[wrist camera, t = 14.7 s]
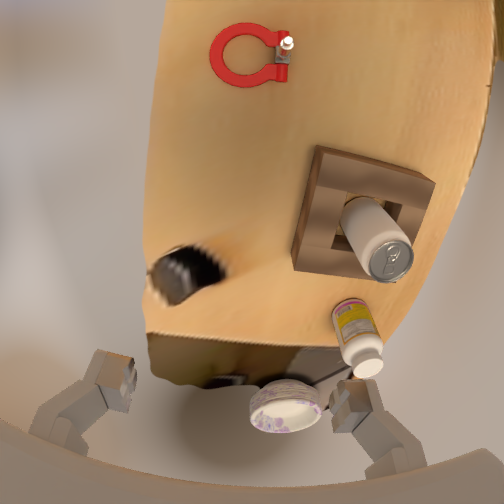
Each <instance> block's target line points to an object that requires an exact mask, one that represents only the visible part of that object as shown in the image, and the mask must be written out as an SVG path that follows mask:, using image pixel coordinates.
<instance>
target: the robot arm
mask: <svg viewBox="0 0 504 504" xmlns="http://www.w3.org/2000/svg"><path fill="white" fill-rule="evenodd" d="M134 364H135V362H134V358H132V357H128V356H123V355H119V354H115V353H111V352H108V351H103V350H99V349H97V351H96V352H95V353H94V355H93V357H92V360H91V362H90V364H89V366H88V369H87V371H86V373H85V376H84V378H83V380H78V381H77V382H75V383H74V384H72V385H71V386H69V387H68V388H66V389H65V390H63V391H62V392H60V393H59V394H57V395H56V396H54V397H53V398H51V399H50V400H48V401H47V402H45V403H44V404H42V405H41V406H40V407H39V408H38V410H37V412H36V415H35V417H34V419H33V422H32V424H31V427H30V429H29V432H25V431H24V430H22V429H20V428H18V427H16V426H14V425H12V424H10V423H8V422H6V421H4V420H2V419H1V418H0V504H504V465H503V463H502V462H501V461H500V460H499V459H498V458H497V457H496V456H495V455H493V454H492V453H491V452H490V451H488V450H487V449H484V448H481V449H478V450H475V451H472V452H470V453H467V454H464V455H462V456H459V457H456V458H453V459H450V460H447V461H444V462H440V463H437V464H434V465H430V466H427V462H426V459H425V455H424V452H423V448H422V445H421V442H420V441H419V440H418V439H417V438H416V437H415V436H414V435H413V434H411V433H410V432H409V431H408V430H407V429H406V428H405V427H404V426H403V425H402V424H401V423H400V422H399V421H398V420H397V419H396V418H395V417H394V416H393V415H391V414H390V413H389V412H388V411H385V410H384V407H383V404H382V400H381V397H380V394H379V391H378V388H377V384H376V381H375V380H373V379H372V380H371V379H369V380H362V379H358V380H340V381H339V382H338V383H337V389H335V390H333V391H332V393H331V395H330V399H329V409H330V412H331V413H332V414H333V415H334V416H333V418H332V420H331V421H332V426H333V433H349V432H352V435H353V436H354V437H355V438H356V440H357V441H358V442H359V444H360V445H361V446H362V447H363V449H364V450H365V451H366V452H367V454H368V455H369V456H370V458H371V459H372V460H373V461H374V464H372V465H371V466H370V467H368V468H367V469H366V470H365V475H366V480H361V481H355V482H348V483H339V484H329V485H318V486H301V487H247V486H231V485H219V484H209V483H201V482H193V481H185V480H180V479H173V478H168V477H162V476H158V475H152V474H148V473H144V472H139V471H134V470H131V469H127V468H123V467H119V466H116V465H112V464H109V463H105V462H102V461H99V460H96V459H93V458H89V457H87V453H88V449H89V446H88V444H87V443H86V442H85V440H84V439H83V438H82V436H81V434H82V433H83V432H85V431H86V430H87V429H88V428H89V427H90V426H91V425H93V424H94V423H95V422H96V421H97V420H98V419H99V418H100V417H101V416H103V415H104V414H105V412H107V411H108V409H111V410H115V411H119V412H123V413H128V411H129V407H130V404H131V401H132V399H131V396H130V394H131V393H132V392H133V391H135V387H136V381H137V372H136V369H135V368H134Z"/></svg>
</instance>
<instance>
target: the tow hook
mask: <svg viewBox="0 0 504 504" xmlns="http://www.w3.org/2000/svg"><path fill="white" fill-rule="evenodd" d="M240 35H253V36H256V37H258V38H260V39H261V40H262V41H263V42H264V43H265V44H266V46H268V47H276V53H275V64H266V65H265V67H264V68H263V69H262V70H260V71H259V72H257V73H255V74H252V75H238V74H235V73H233V72H231V71H230V70H229V69H228V68H227V66H226V65H225V63H224V60H223V51H224V48H225V46H226V44H227V43H228V42H229V41H230V40H231V39H233V38H235V37H236V36H240ZM293 46H294V42H293V38H292V37H291V36H289V31H284V30H281V31H277V32H271V31H269V30H268V29H267V28H265V27H263V26H261V25H258V24H253V23H239V24H235V25H232V26H229V27H228V28H226V29H224V30H223V31H222V32H220V33H219V34H218V35H217V36H216V38H215V39H214V41H213V43H212V45H211V49H210V63H211V66H212V69H213V70H214V72H215V73H216V75H217V76H218V77H219V78H221V79H222V80H223V81H224V82H226V83H228V84H230V85H233V86H238V87H253V86H257V85H260V84H262V83H264V82H266V81H268V80H275V81H277V82H287V72H288V64H289V63H290V56H291V50H292V48H293Z"/></svg>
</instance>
